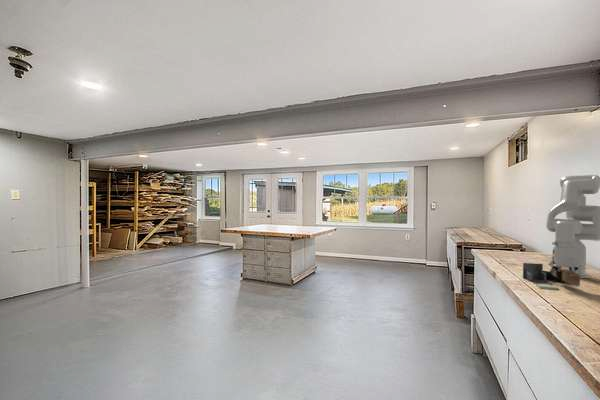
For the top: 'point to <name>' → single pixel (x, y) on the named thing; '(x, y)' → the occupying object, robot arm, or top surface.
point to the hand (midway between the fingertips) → (564, 278)
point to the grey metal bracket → (534, 272)
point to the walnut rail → (568, 276)
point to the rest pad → (547, 286)
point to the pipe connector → (552, 277)
